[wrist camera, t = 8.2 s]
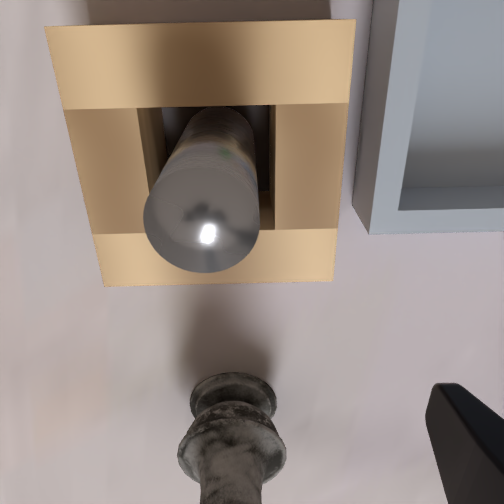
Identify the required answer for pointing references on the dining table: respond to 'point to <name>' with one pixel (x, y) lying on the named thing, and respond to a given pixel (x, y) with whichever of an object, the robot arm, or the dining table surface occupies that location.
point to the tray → (432, 118)
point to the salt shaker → (232, 439)
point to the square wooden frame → (208, 94)
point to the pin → (206, 195)
